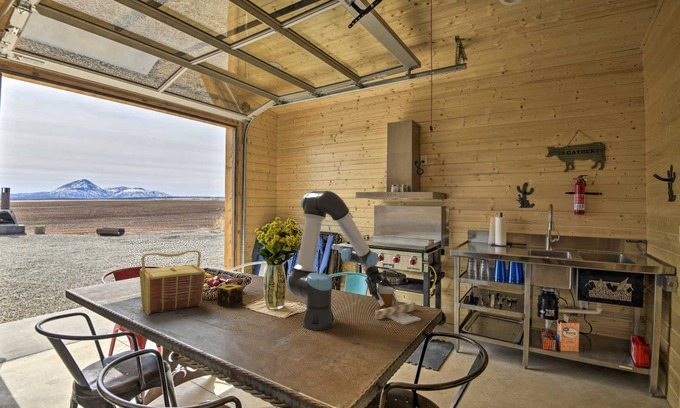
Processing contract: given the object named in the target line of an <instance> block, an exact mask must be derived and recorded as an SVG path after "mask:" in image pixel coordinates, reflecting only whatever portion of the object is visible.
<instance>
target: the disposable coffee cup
mask: <svg viewBox="0 0 680 408" xmlns="http://www.w3.org/2000/svg"><path fill="white" fill-rule="evenodd" d="M394 288H395V287H394ZM394 288H392V287H388V286H382V285H380V286H377V293H379V294H380V296H381V298H382V300H383V302H384V305H383V306H380V304H379V303H378V310H380V309H384V308H389V307H393V306H392V305H393V293H394V294H395V289H394Z"/></svg>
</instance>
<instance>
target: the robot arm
mask: <svg viewBox="0 0 680 408" xmlns="http://www.w3.org/2000/svg"><path fill="white" fill-rule="evenodd" d="M301 208H302V211H303V217H304V218H305V220H304V225H303V230H302V231H303V232H302V237H301V241H300V248H299V252H298V253H299V254H298V257H297V264H296V265H294V266H293V268H292V270H291V272H290V273H289V274H288V276H287V278H286V286H287V289H288V291H289V292H290V293H292V294H293V295H294V296H297V297H301V298H304V299H306V308H305V312H304V315H303V317H302V327H303V328H305V329H308V330H313V331H324V330H329V329H331V328H333V327H334V326H335V317H334V312H333V311H332V310H333V309H332V291H333V290H332V287H333V284H332V278H331V276H330V275H328V274H326V273H323V272H317V270H316V269H315V263H316V256H317V250H318V245H319V239H320V234H321V229H322V223H323V221H324V220H325V219H326V217H327V215H328V216H330V217H331V219H332V220H333V222H336V223H337V225H338V227H339V228H340V230H341V231H342V233H343V235H344V236H345V237H346V239H347V241H348V243H349V244H350V246H351V247H352V248H348V247H347V248H343V249H341V250H342V251H341V253H340V258H341V260H342V262H347V263H353V264H354V263H355V264H358V265H359V264H360V266H361V268H362V269H363V271H364V273H365V275H366V278H365V280H364V281H365V283H366V285H367V288H368V293H369V295H370V296H372V297H374V298H375V299H376V301H378V305H379V304H380V306H383V305H384V302H383V300H382V298H381V296H380V294H379V293H378V292H377V289H378V286H377V285H380V286H388V287H392V288H394V290H395V287H394V285H393V284H392V283H391V282H390V280H388V278H387V276H386V275H385V274H383V275H382V274H380V271H379V268H378V266H377V264H378V261H379V259H380V258H379V255H378V253H377V252H375V251H373V250H371V248H370V246H369V245H368V244H367V241H366V240H365V238H364V237H363V235H362V234H361V232H360V229H359V227H357V225H356V223H355V221H354V220H353V218H352V216H351V215H350V209H349V206H347V204H346V203H345V202H344V200H343V199H342V198H341V197H340V196H339V195H338V193H335V192H334V191H331V190H313V191H309V192H307V193H305V194H304V195H303V196H302V199H301ZM397 302H398V298H397V297H396V294H395V292H394V293H393V300H392V303H394V304H396V303H397Z"/></svg>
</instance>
